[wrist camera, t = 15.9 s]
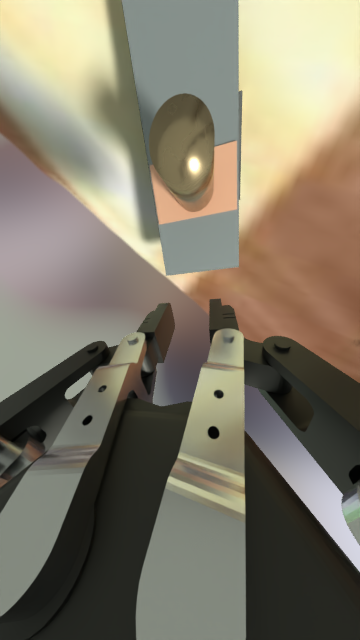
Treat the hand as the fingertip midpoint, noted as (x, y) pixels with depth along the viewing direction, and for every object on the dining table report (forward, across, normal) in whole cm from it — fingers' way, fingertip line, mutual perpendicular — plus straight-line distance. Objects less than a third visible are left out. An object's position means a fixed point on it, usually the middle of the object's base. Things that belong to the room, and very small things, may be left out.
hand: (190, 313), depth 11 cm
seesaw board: (+16, 0, -12) cm, 20 cm away
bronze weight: (+14, 0, -8) cm, 16 cm away
